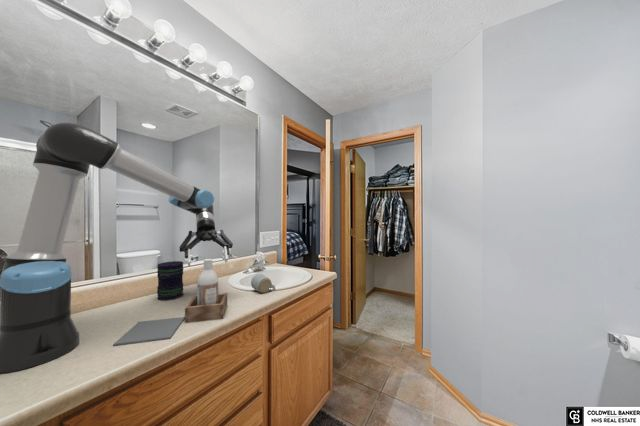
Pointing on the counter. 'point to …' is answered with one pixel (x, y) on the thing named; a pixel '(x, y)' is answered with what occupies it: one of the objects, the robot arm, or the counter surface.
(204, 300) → the bath foam
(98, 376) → the counter surface
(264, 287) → the ceramic mug
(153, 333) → the rubber mat
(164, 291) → the storage jar
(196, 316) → the wooden tray
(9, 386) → the counter surface
